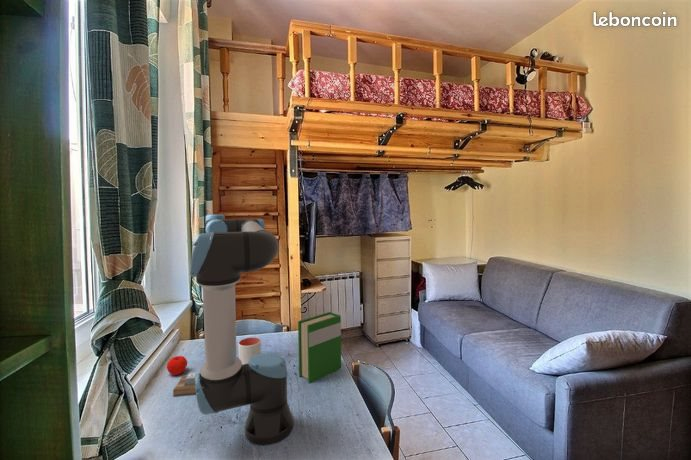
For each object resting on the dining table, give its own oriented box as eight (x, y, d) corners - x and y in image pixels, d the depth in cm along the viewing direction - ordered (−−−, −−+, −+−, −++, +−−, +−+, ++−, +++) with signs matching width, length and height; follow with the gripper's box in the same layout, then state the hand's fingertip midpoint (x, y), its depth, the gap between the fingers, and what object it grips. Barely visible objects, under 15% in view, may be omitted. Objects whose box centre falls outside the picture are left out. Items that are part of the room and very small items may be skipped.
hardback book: (309, 383, 127) (308, 325, 126) (299, 376, 133) (298, 321, 132) (341, 368, 140) (340, 315, 138) (330, 362, 145) (329, 311, 144)
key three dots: (199, 387, 123) (198, 377, 123) (185, 388, 123) (185, 378, 122) (203, 380, 128) (202, 370, 128) (190, 381, 128) (189, 371, 127)
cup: (264, 357, 151) (263, 337, 150) (256, 368, 141) (255, 346, 140) (244, 357, 152) (243, 337, 151) (235, 367, 142) (234, 345, 141)
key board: (249, 389, 123) (248, 383, 123) (173, 396, 119) (173, 390, 119) (253, 375, 134) (252, 369, 134) (183, 381, 130) (183, 375, 130)
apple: (181, 367, 142) (180, 351, 142) (191, 371, 138) (191, 355, 138) (163, 375, 135) (162, 358, 135) (173, 380, 131) (173, 362, 131)
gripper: (221, 252, 126) (223, 309, 127) (229, 248, 139) (230, 301, 140) (202, 253, 125) (204, 311, 126) (211, 249, 138) (213, 302, 139)
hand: (218, 305), depth 133 cm, fingers closed
